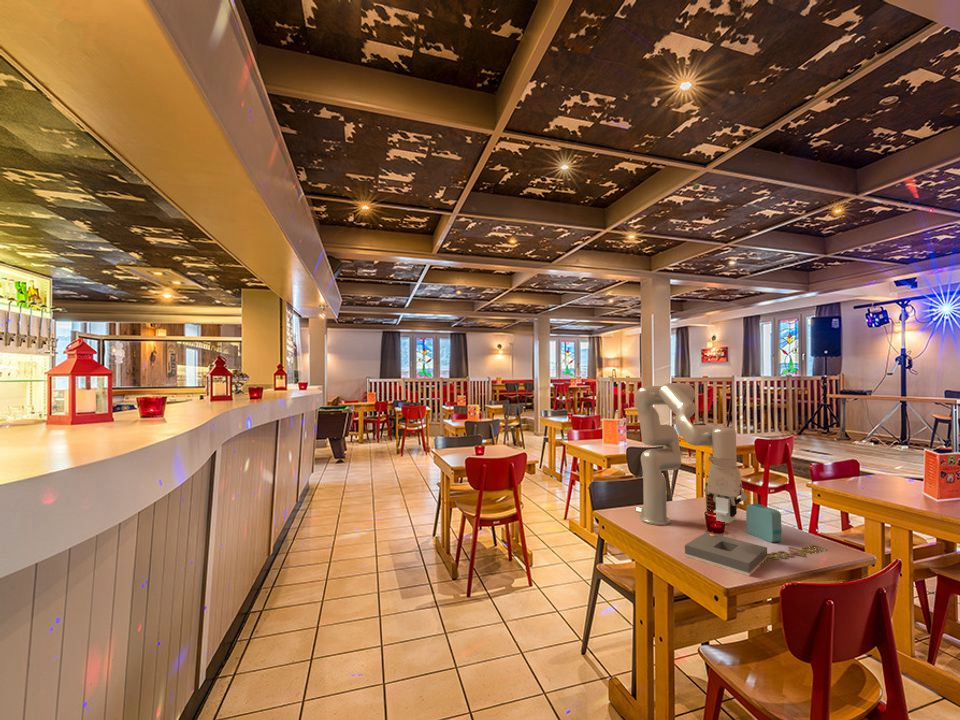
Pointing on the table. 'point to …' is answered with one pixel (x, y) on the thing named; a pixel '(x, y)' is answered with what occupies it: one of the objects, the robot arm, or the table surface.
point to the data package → (763, 522)
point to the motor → (709, 503)
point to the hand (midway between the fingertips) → (725, 514)
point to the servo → (723, 509)
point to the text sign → (791, 553)
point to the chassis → (726, 553)
